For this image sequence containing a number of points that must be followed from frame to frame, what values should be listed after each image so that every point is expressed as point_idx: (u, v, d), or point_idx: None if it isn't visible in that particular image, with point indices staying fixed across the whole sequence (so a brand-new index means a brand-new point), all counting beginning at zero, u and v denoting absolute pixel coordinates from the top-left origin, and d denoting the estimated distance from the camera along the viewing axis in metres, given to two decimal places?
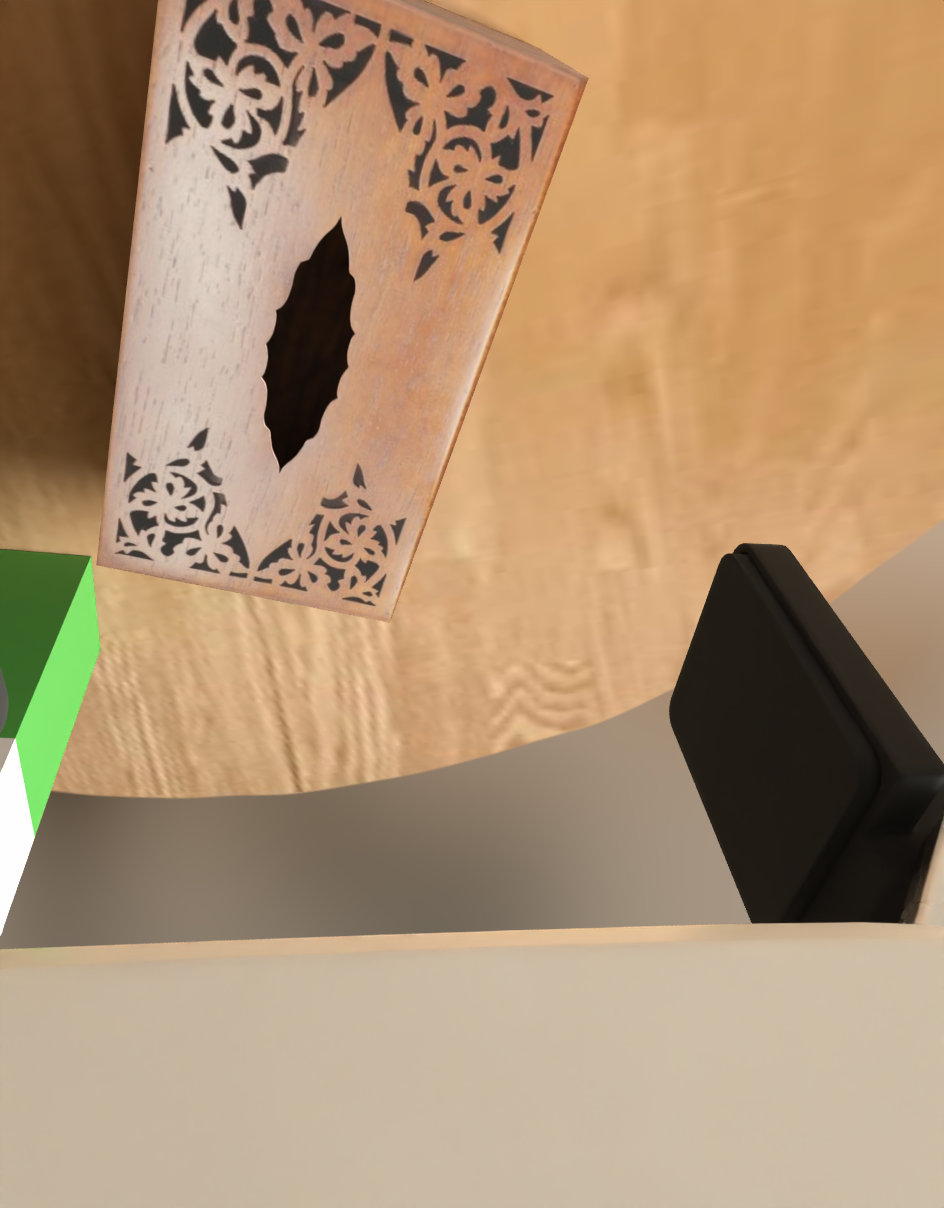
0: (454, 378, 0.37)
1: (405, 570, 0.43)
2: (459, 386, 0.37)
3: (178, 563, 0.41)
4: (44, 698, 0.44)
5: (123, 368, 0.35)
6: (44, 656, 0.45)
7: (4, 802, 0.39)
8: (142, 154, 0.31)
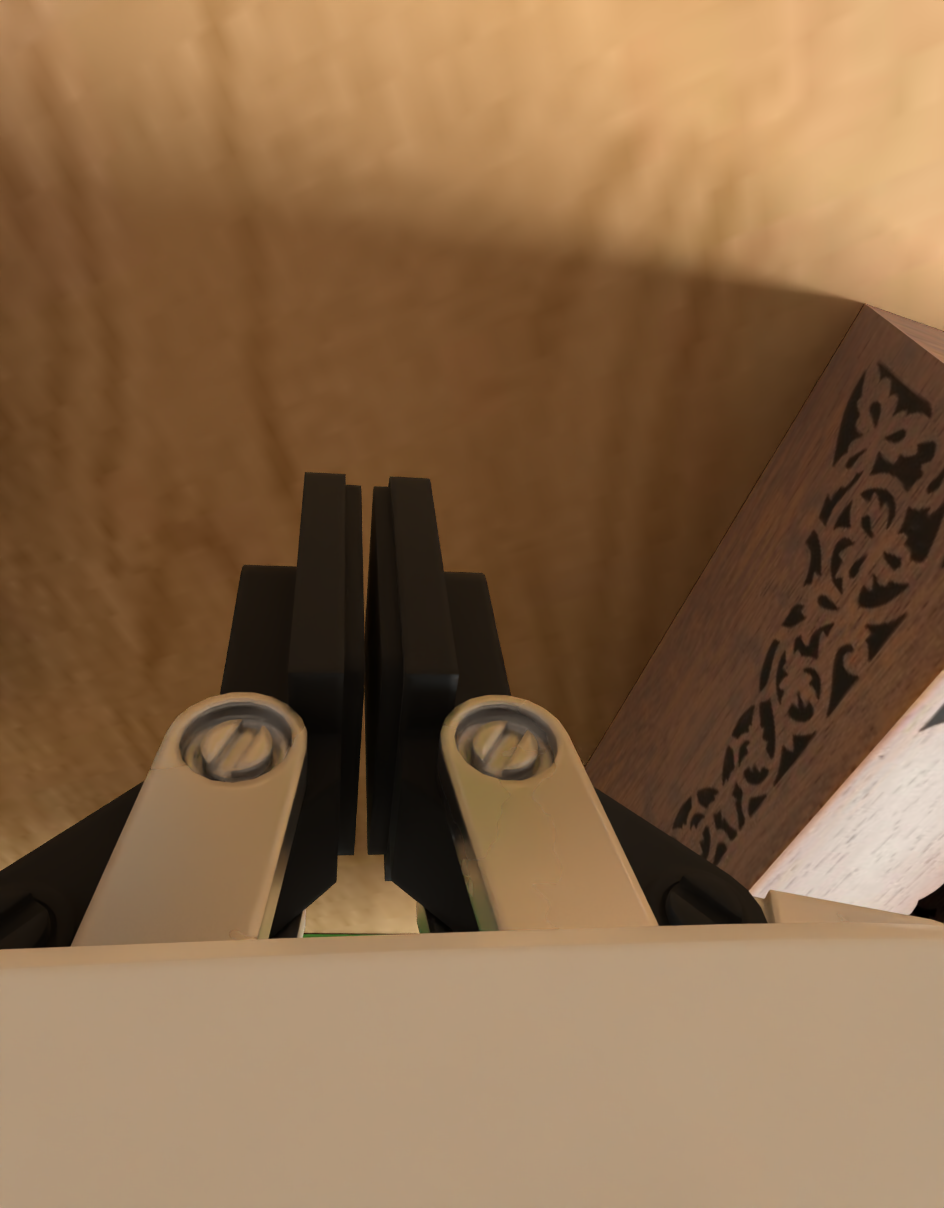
0: None
1: None
2: None
3: None
4: None
5: None
6: None
7: None
8: (879, 744, 0.20)
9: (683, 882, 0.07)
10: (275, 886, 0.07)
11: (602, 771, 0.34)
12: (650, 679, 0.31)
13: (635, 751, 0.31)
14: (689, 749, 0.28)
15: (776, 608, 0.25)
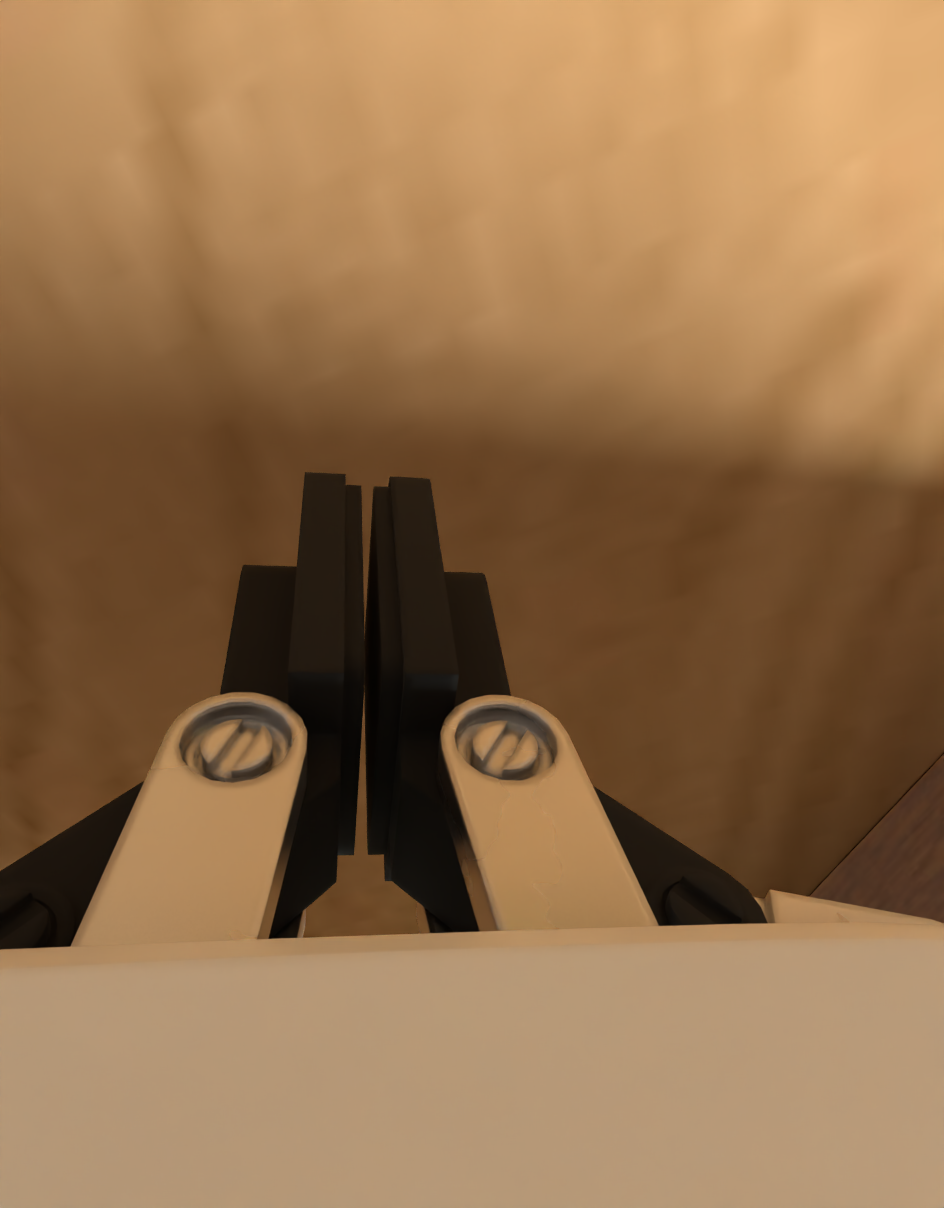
0: None
1: None
2: None
3: None
4: None
5: None
6: None
7: None
8: None
9: (683, 882, 0.07)
10: (275, 886, 0.07)
11: None
12: None
13: None
14: None
15: None
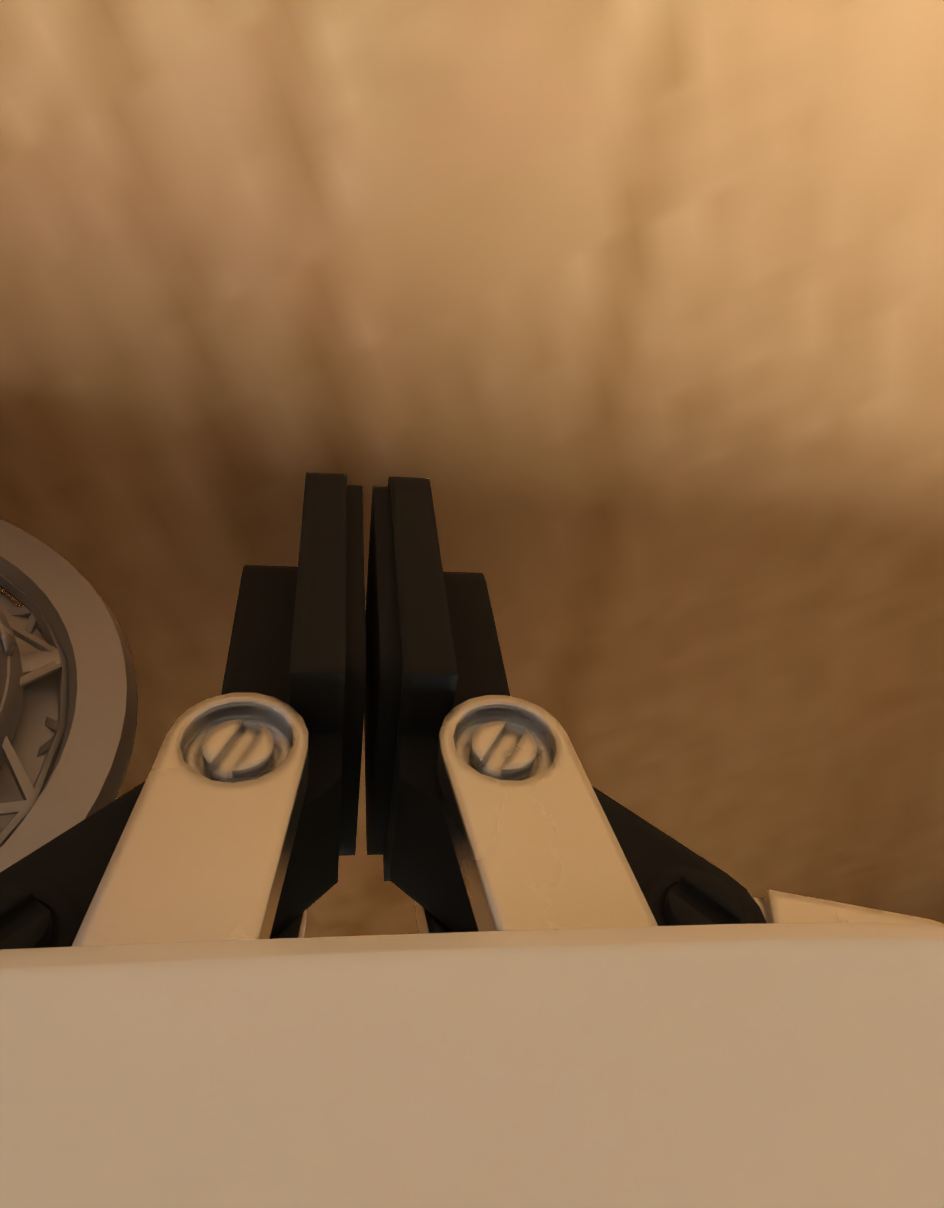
0: None
1: None
2: None
3: None
4: None
5: None
6: None
7: None
8: None
9: (682, 882, 0.07)
10: (276, 886, 0.07)
11: None
12: None
13: None
14: None
15: None
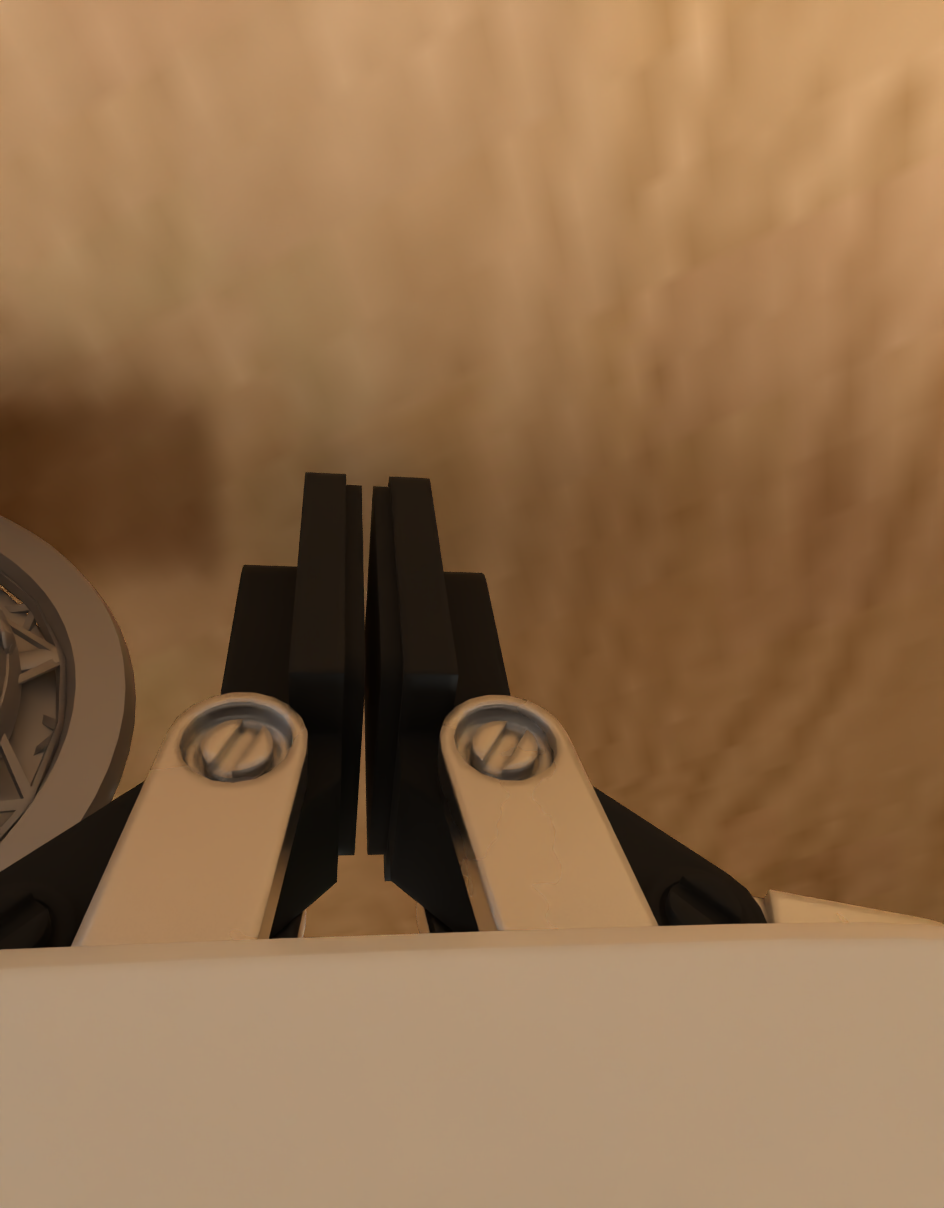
0: None
1: None
2: None
3: None
4: None
5: None
6: None
7: None
8: None
9: (682, 882, 0.07)
10: (275, 886, 0.07)
11: None
12: None
13: None
14: None
15: None
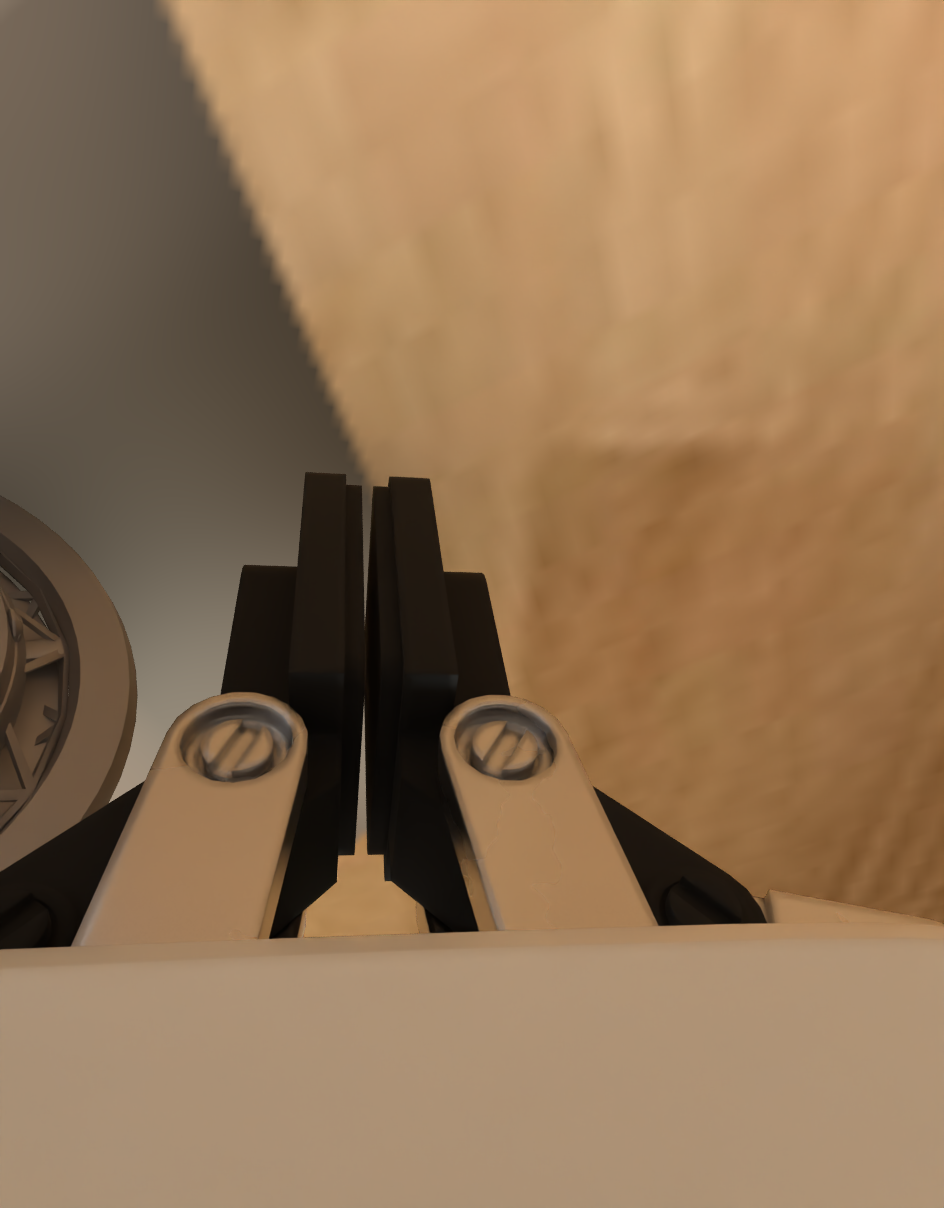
0: None
1: None
2: None
3: None
4: None
5: None
6: None
7: None
8: None
9: (682, 882, 0.07)
10: (275, 886, 0.07)
11: None
12: None
13: None
14: None
15: None
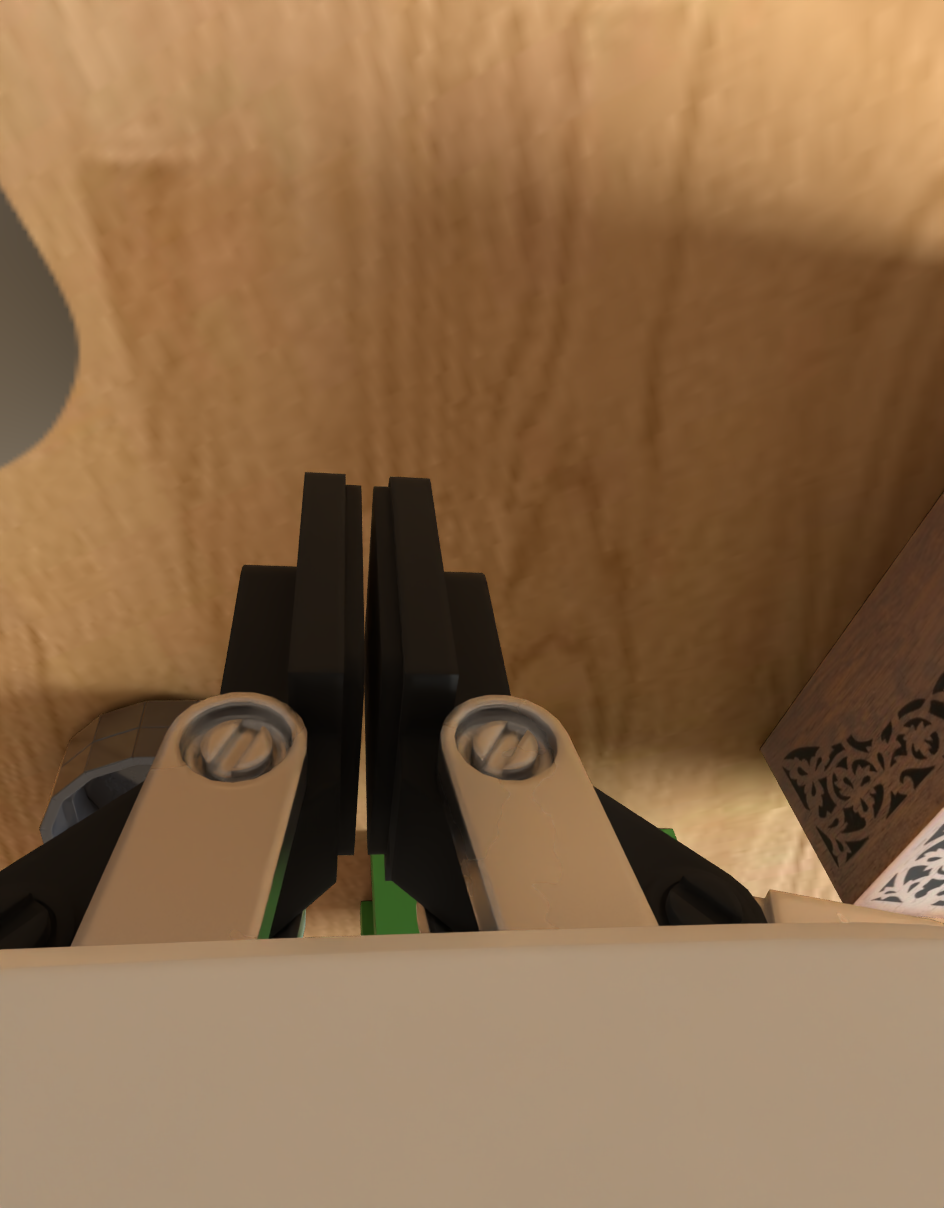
0: None
1: None
2: None
3: (923, 902, 0.40)
4: None
5: None
6: None
7: None
8: None
9: (683, 882, 0.07)
10: (275, 886, 0.07)
11: (839, 669, 0.42)
12: (887, 589, 0.40)
13: (878, 646, 0.40)
14: (942, 632, 0.37)
15: None
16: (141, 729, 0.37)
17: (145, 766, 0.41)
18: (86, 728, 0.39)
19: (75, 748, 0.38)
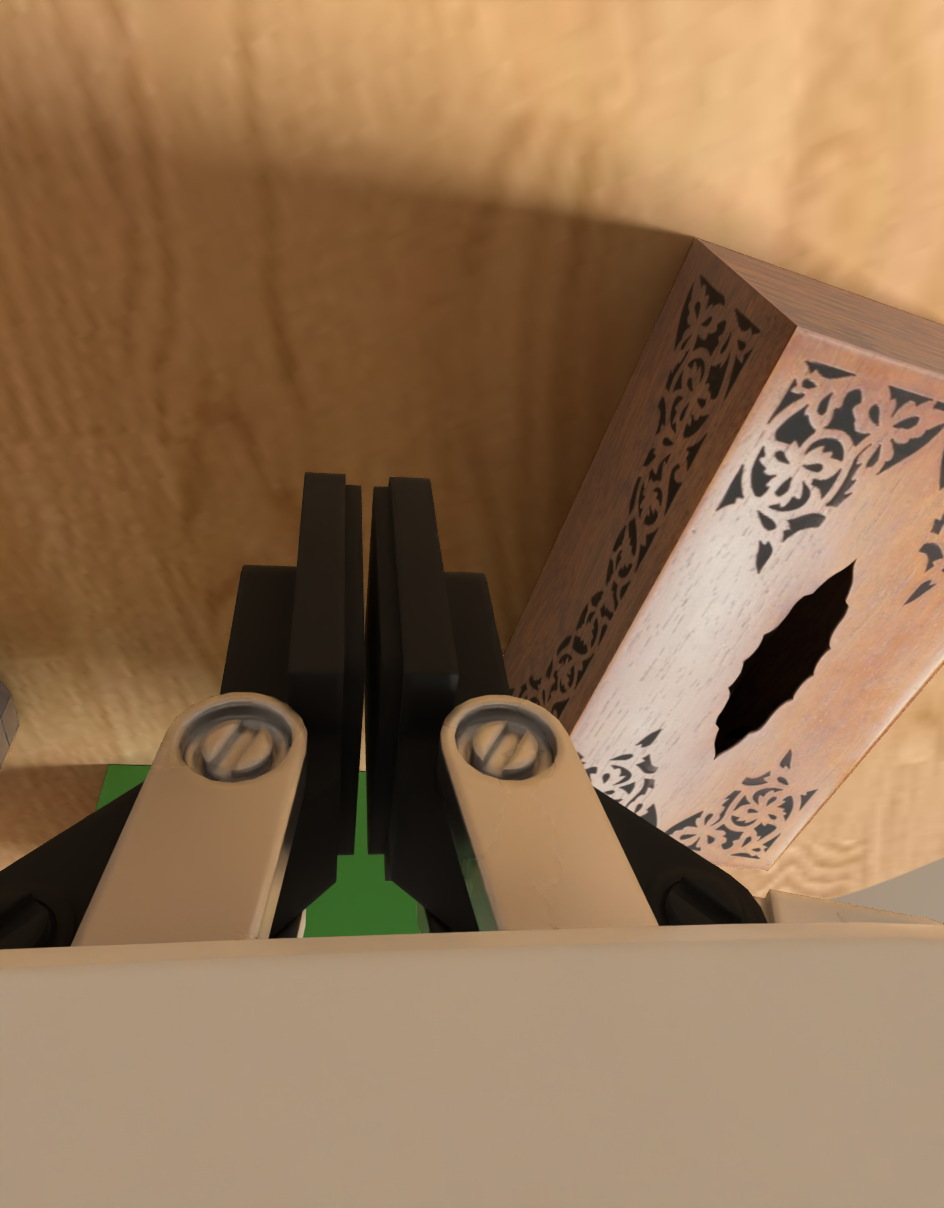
0: (909, 678, 0.37)
1: (799, 829, 0.43)
2: (910, 683, 0.37)
3: None
4: None
5: (602, 687, 0.35)
6: None
7: None
8: (690, 520, 0.31)
9: (683, 882, 0.07)
10: (275, 886, 0.07)
11: (532, 613, 0.44)
12: (565, 534, 0.42)
13: (554, 589, 0.42)
14: (587, 571, 0.38)
15: (640, 455, 0.35)
16: None
17: None
18: None
19: None
